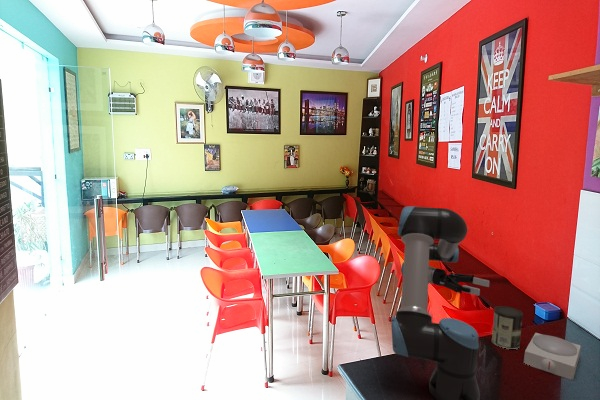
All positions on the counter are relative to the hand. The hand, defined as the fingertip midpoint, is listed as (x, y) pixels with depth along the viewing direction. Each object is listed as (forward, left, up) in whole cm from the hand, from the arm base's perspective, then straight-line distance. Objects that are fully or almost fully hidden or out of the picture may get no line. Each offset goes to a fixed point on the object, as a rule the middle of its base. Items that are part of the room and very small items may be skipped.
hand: (484, 288), depth 160 cm
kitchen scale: (+26, -2, -21) cm, 34 cm away
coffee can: (+10, 0, -21) cm, 23 cm away
